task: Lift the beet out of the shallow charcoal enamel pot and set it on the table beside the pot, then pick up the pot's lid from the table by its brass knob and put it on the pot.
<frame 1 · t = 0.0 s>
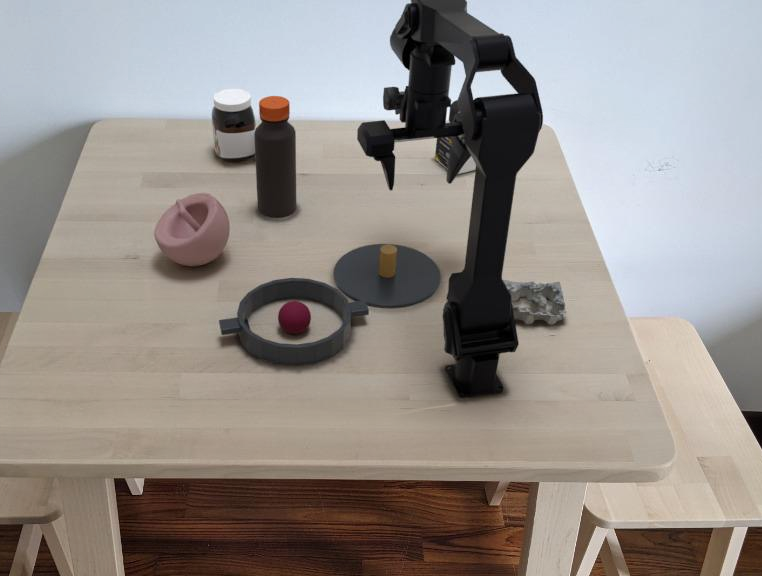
hand: (419, 185, 137), 15 cm above the table, tool pointing down, fingers open, 9 cm apart
egg carton: (524, 313, 138), on the table
pot lid: (386, 275, 144), point 1 cm above the table
pot: (294, 331, 134), on the table
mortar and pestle: (195, 260, 149), on the table
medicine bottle: (459, 164, 172), on the table
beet: (294, 330, 134), resting on pot
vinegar: (277, 211, 160), on the table
spread jar: (246, 156, 175), on the table
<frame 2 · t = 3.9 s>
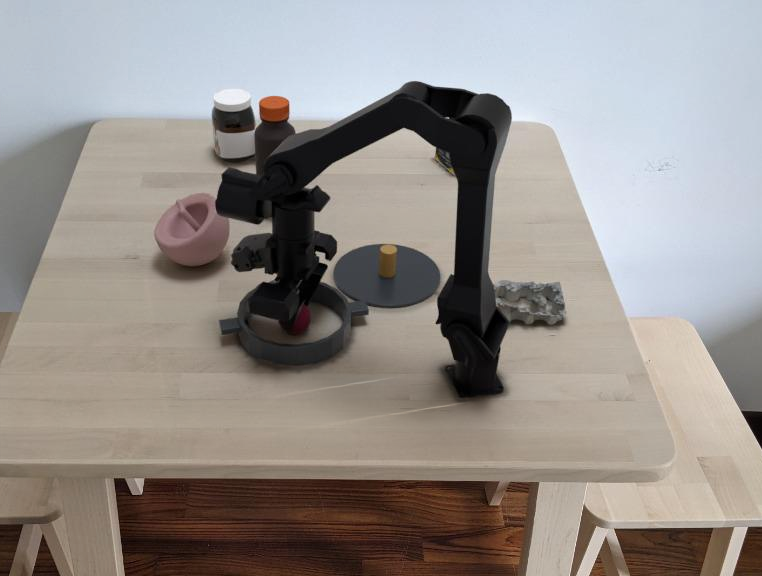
hand: (294, 321, 133), 2 cm above the table, tool pointing down, fingers closed on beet, 5 cm apart
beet: (294, 330, 134), resting on pot, touching gripper
everything else where it was.
when the fingers open (2 cm above the table, at t = 9.5 s): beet stays where it is, on the table.
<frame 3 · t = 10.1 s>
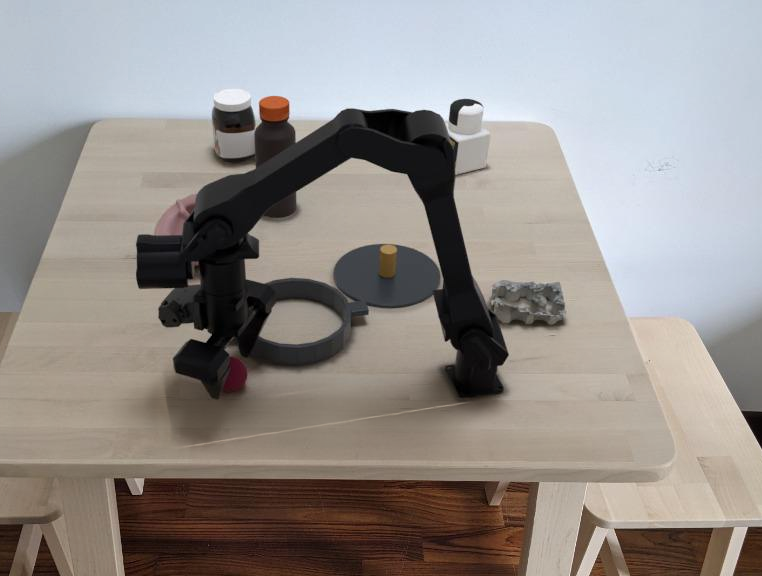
hand: (230, 376, 124), 2 cm above the table, tool pointing down, fingers open, 9 cm apart
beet: (231, 387, 125), on the table
everything else where it was.
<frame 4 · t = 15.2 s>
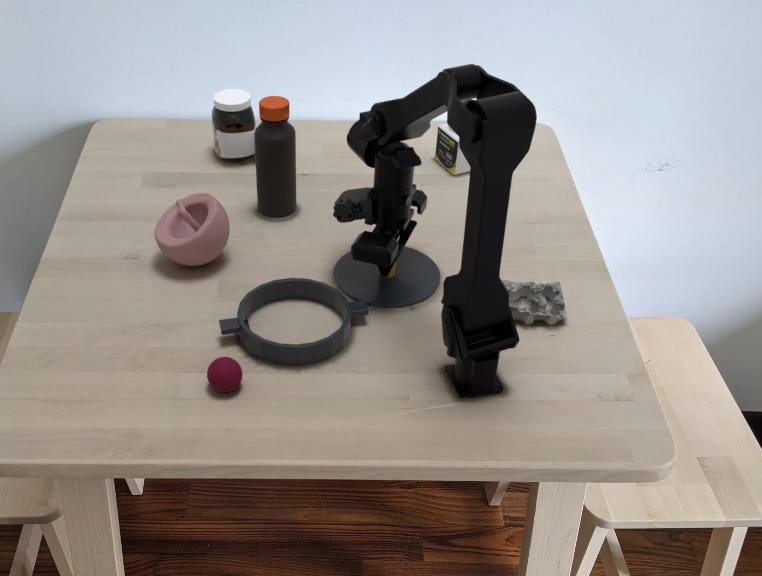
hand: (387, 270, 143), 2 cm above the table, tool pointing down, fingers closed on pot lid, 3 cm apart
pot lid: (386, 275, 144), point 1 cm above the table, touching gripper
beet: (231, 386, 125), on the table, tilted 18°
everything else where it was.
when the fingers open (5 cm above the table, at t = 20.8 s): pot lid stays where it is, resting on pot.
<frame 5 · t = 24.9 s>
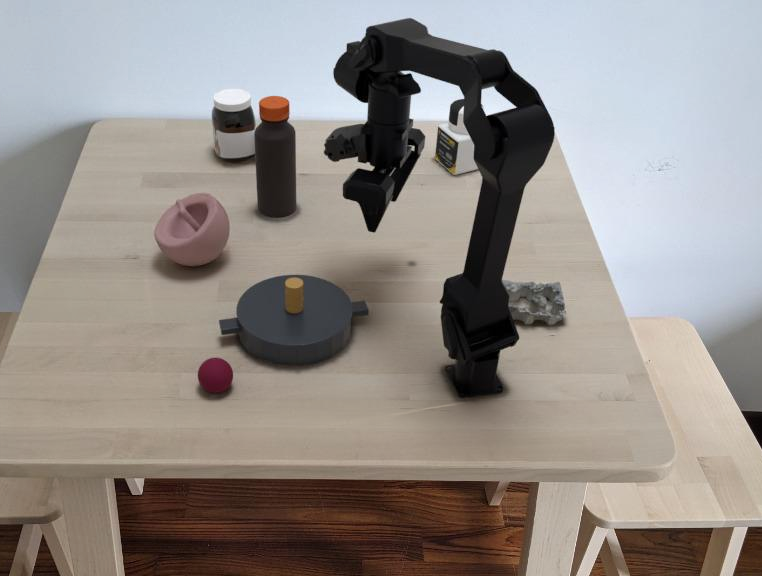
hand: (382, 215, 134), 13 cm above the table, tool pointing down, fingers open, 9 cm apart
pot lid: (294, 310, 132), point 4 cm above the table, touching pot
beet: (229, 382, 125), point 1 cm above the table, tilted 48°
everything else where it was.
at the end: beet inside the target area (0.3 cm from its centre), point 0.8 cm above the table; pot lid 0.0 cm off-centre on the pot, point 3.9 cm above the pot's base; pot lid tilted 0° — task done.
